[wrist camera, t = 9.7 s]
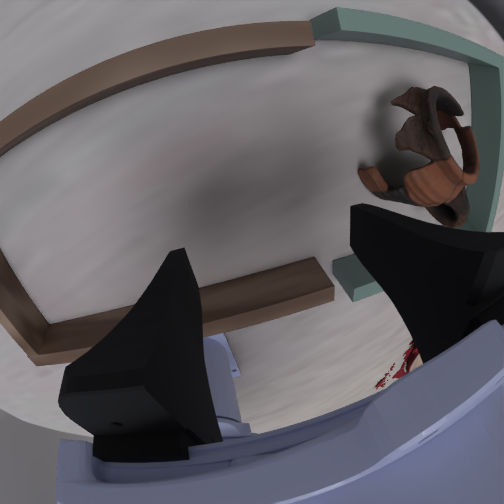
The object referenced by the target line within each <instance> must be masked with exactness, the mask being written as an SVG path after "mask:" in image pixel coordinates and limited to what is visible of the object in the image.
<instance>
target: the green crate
mask: <svg viewBox="0 0 504 504" xmlns="http://www.w3.org/2000/svg"><path fill="white" fill-rule="evenodd" d="M309 21H310V22H311V26H312V31H313V36H314V40H339V41H356V42H368V43H378V44H386V45H393V46H399V47H405V48H411V49H416V50H421V51H426V52H430V53H434V54H438V55H442V56H446V57H450V58H453V59H457V60H460V61H463V62H467V63H469V70H470V82H471V100H472V131H473V133H474V136H475V140H476V144H477V148H478V153H479V162H480V169H479V175H478V178H477V180H476V182H475V183H474V184H472V185H467V191H466V194H467V197H468V200H469V205H470V213H469V215H468V220H467V221H466V223H465V224H464V225H462V226H460V227H455V229H462V230H469V231H479V232H491V231H492V227H493V223H494V219H495V214H496V210H497V205H498V200H499V195H500V189H501V183H502V177H503V169H504V57H503V56H501V55H499V54H497V53H496V52H494V51H492V50H490V49H487V48H485V47H483V46H481V45H479V44H477V43H474V42H472V41H470V40H467V39H465V38H463V37H460V36H458V35H455V34H452V33H450V32H447V31H444V30H441V29H438V28H435V27H432V26H429V25H426V24H422V23H419V22H415V21H411V20H407V19H403V18H399V17H395V16H390V15H386V14H380V13H375V12H369V11H363V10H356V9H348V8H338V7H336V8H334V9H331V10H329V11H327V12H325V13H323V14H321V15H319V16H317V17H315V18H313V19H311V20H309ZM442 226H444V225H442ZM444 227H447V226H444ZM333 275H334V276H335V277H336V279H337V280H338V282H339V283H340V284H341V286H342V287H343V289H344V290H345V292H346V293H347V294H348V296H349V297H350V299H351V300H352V302H355V301H358V300H361V299H363V298H366V297H369V296H371V295H374V294H377V293H379V292H382V291H384V290H383V289H382V288H381V286H380V285H379V284H378V283H377V282H376V280H375V279H374V278H373V277H372V276H371V274H370V273H369V272H368V271H367V270H366V268H365V267H364V266H363V265H362V264H361V262H360V261H359V259H358V258H357V256H356V255H355V254H354V255H350V256H347V257H344V258H341V259H337V260H334V261H333Z"/></svg>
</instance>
